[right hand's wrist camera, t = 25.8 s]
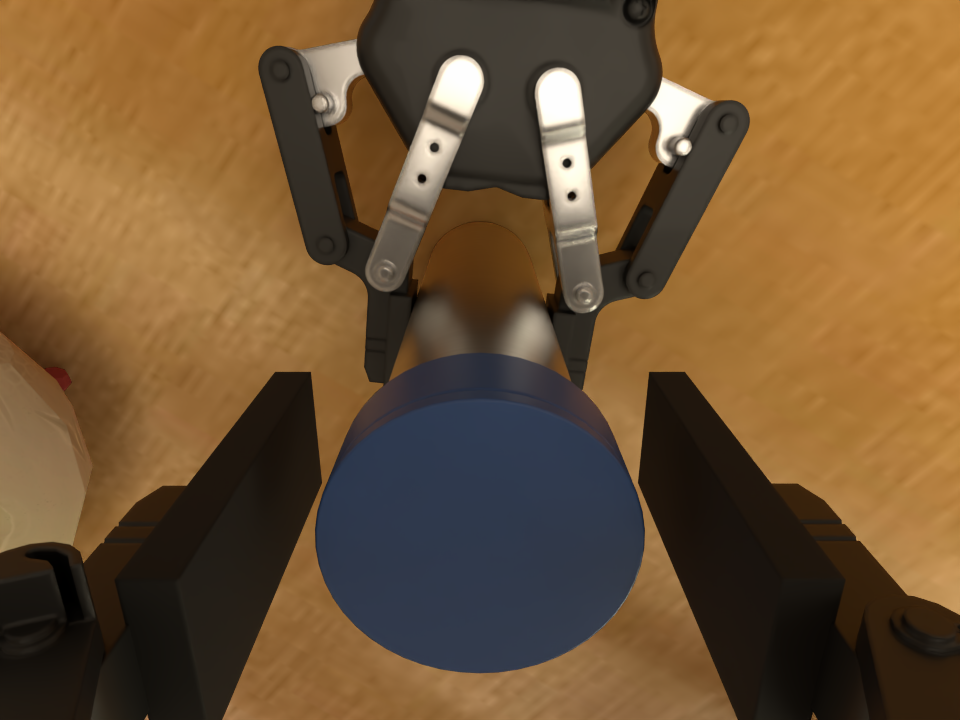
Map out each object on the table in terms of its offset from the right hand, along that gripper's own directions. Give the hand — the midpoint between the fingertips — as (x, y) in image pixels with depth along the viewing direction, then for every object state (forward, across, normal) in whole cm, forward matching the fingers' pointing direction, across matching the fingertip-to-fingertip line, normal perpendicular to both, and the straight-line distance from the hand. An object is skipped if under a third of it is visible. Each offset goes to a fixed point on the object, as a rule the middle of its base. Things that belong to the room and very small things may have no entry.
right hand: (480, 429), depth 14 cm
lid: (-4, 0, 0) cm, 4 cm away
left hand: (+8, 0, -3) cm, 8 cm away
